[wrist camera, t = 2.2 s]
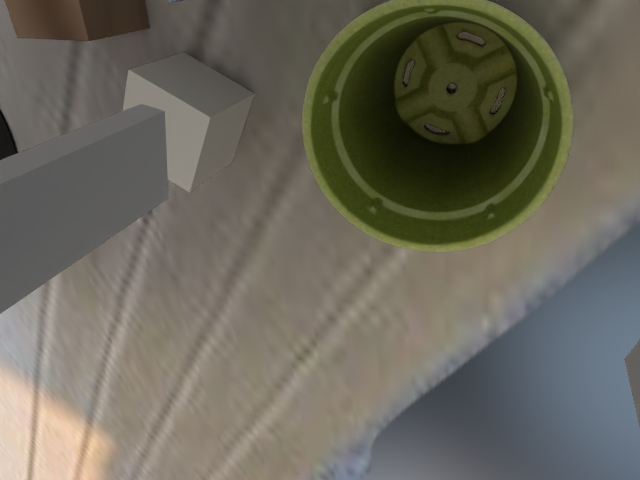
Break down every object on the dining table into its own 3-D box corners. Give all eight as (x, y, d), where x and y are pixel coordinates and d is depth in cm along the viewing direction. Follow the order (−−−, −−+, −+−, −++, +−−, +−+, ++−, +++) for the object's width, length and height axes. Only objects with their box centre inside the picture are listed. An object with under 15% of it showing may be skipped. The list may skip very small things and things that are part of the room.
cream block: (169, 123, 31) (117, 148, 27) (184, 52, 28) (128, 69, 24) (233, 161, 31) (189, 192, 27) (255, 93, 28) (210, 117, 24)
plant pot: (389, -44, 22) (325, -40, 15) (599, 5, 20) (636, 36, 13) (347, 141, 27) (285, 206, 20) (509, 193, 25) (502, 285, 19)
